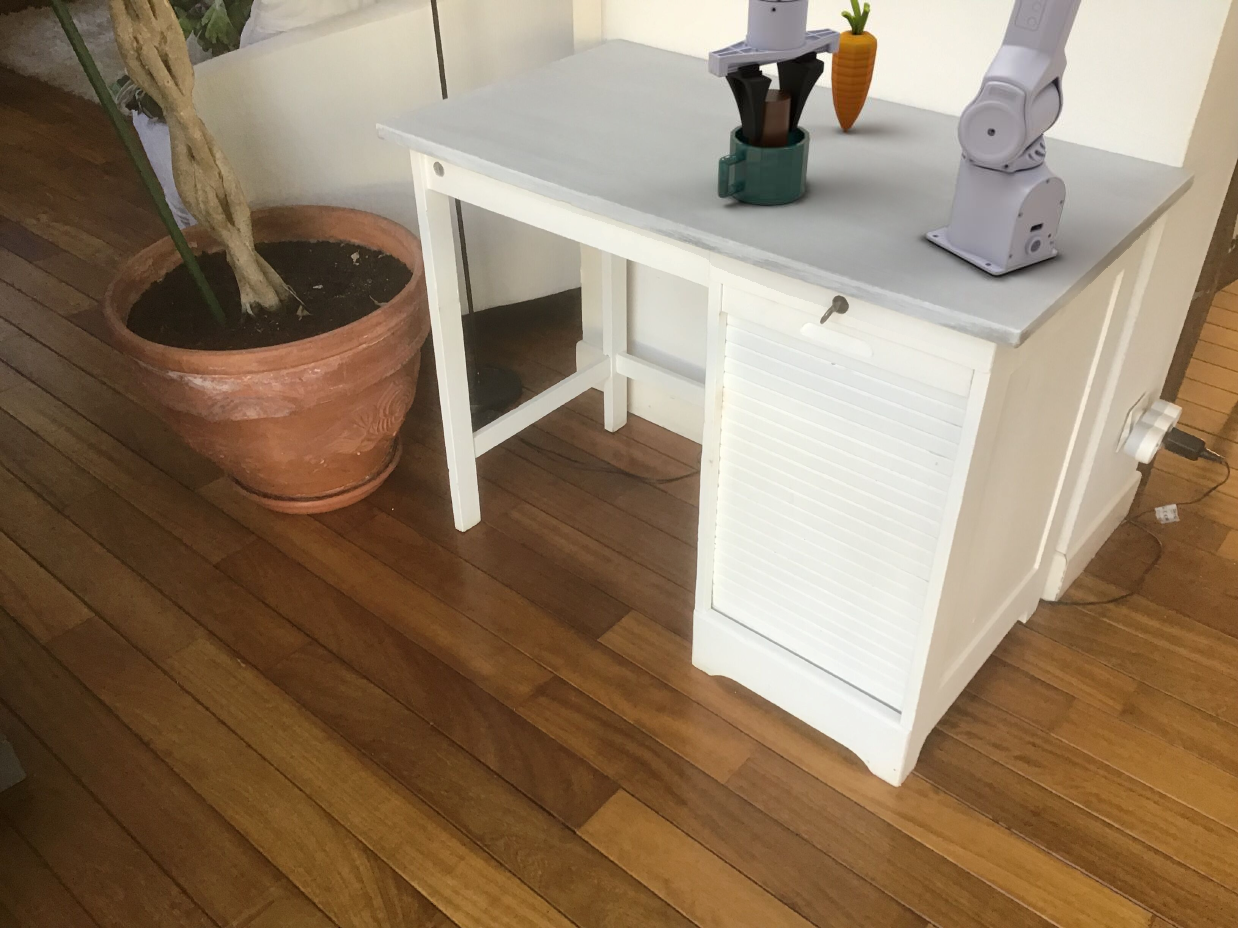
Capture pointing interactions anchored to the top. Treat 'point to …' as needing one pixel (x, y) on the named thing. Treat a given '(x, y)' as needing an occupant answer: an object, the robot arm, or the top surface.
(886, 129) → the top surface
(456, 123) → the top surface
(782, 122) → the walnut peg
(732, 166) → the mug
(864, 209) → the top surface
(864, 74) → the carrot
